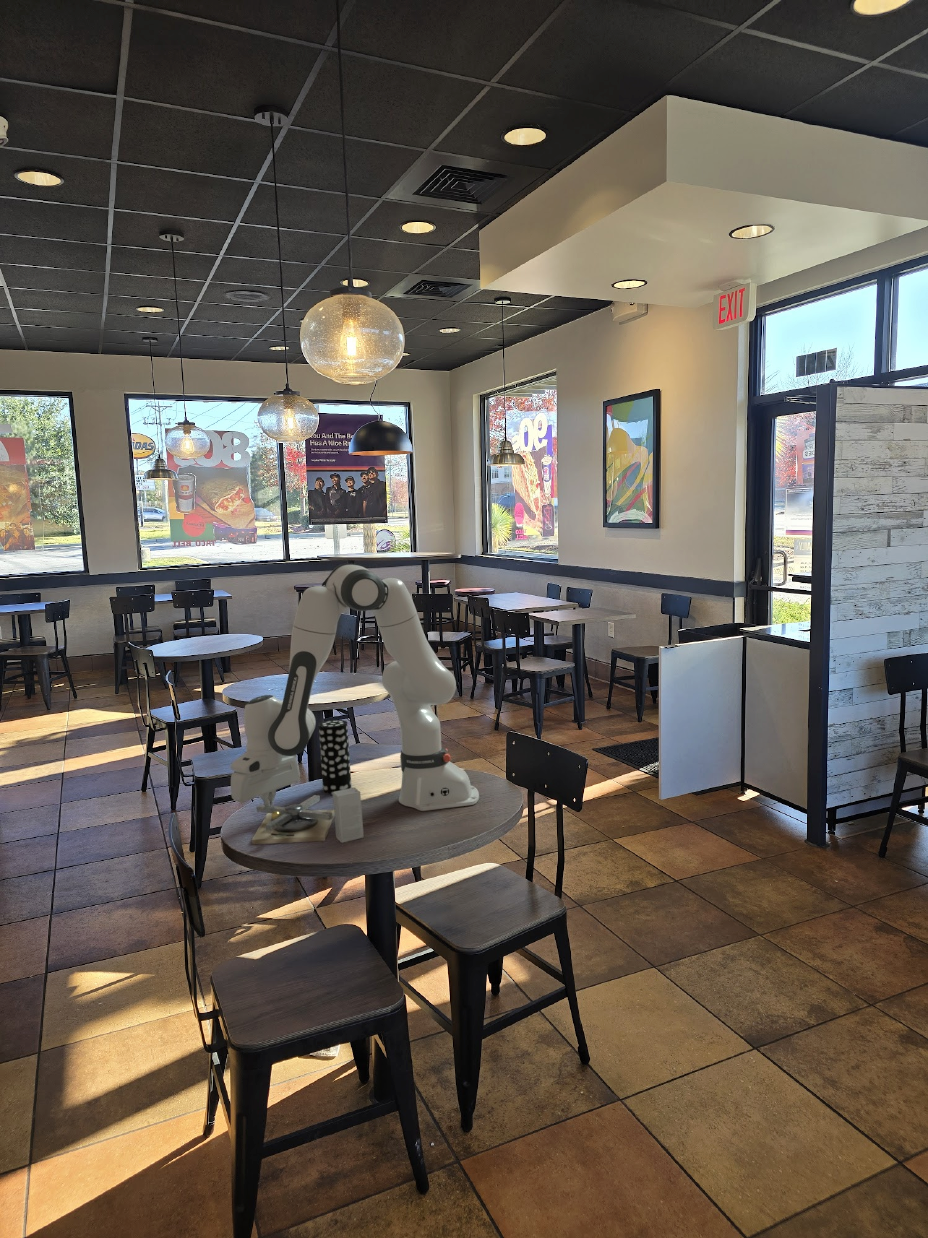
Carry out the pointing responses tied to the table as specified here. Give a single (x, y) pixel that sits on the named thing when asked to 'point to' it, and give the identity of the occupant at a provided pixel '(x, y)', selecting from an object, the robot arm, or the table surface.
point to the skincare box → (348, 814)
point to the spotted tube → (334, 756)
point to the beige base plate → (310, 834)
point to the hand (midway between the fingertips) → (268, 808)
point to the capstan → (294, 816)
